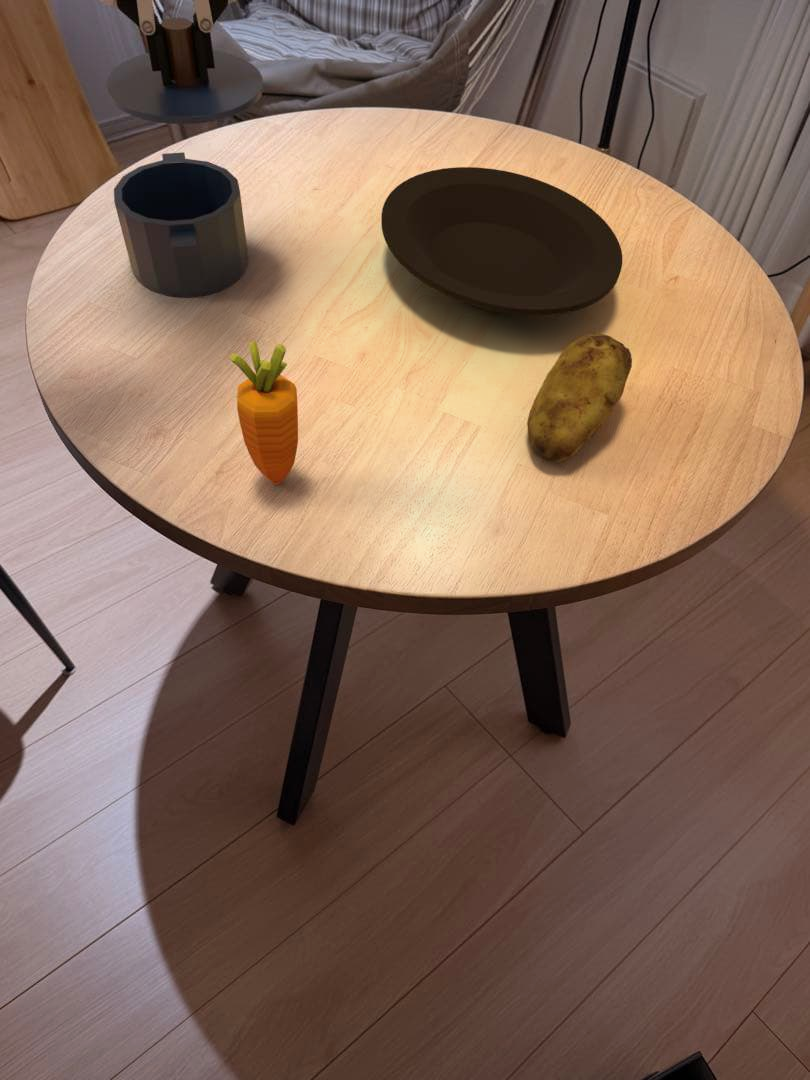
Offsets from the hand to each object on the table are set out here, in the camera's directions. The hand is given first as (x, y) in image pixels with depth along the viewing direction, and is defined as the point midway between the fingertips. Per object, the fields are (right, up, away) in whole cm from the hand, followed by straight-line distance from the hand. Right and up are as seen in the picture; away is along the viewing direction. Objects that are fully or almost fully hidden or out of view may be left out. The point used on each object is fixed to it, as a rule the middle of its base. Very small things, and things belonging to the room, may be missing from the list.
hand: (184, 75), depth 70 cm
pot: (-4, -10, +18) cm, 21 cm away
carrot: (+8, -36, 0) cm, 37 cm away
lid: (0, -1, +1) cm, 1 cm away
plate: (+29, -11, +20) cm, 37 cm away
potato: (+35, -30, +6) cm, 47 cm away
